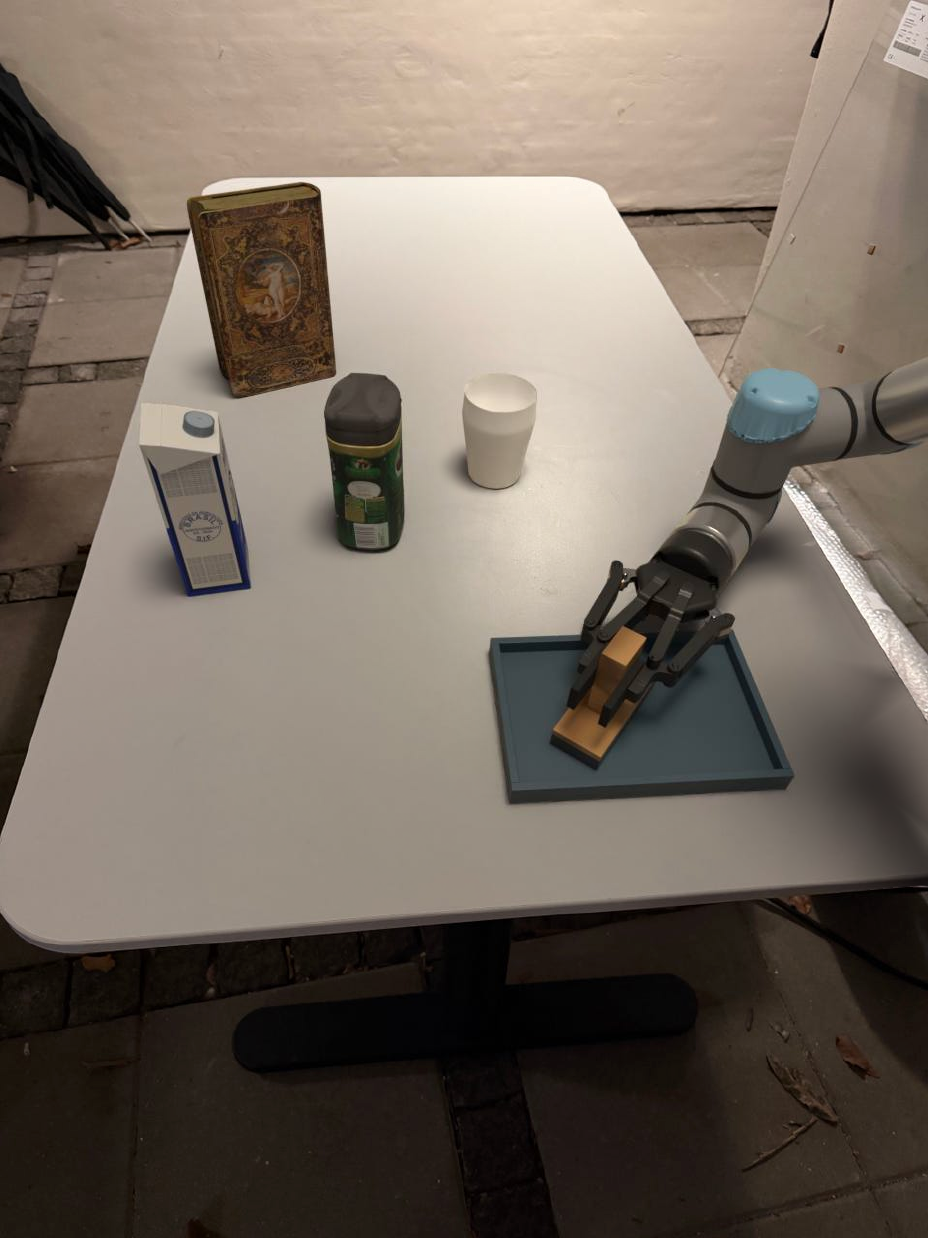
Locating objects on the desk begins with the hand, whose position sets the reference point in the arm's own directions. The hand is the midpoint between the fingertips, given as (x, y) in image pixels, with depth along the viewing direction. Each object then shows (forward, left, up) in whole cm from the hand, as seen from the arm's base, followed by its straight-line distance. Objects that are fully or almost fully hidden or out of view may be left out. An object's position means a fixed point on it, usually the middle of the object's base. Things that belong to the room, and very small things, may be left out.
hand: (588, 707), depth 66 cm
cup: (+43, +3, -8) cm, 44 cm away
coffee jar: (+33, +19, -8) cm, 39 cm away
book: (+67, +32, -8) cm, 75 cm away
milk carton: (+26, +36, -8) cm, 45 cm away
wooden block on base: (+4, -3, -7) cm, 9 cm away
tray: (+4, -6, -8) cm, 11 cm away
